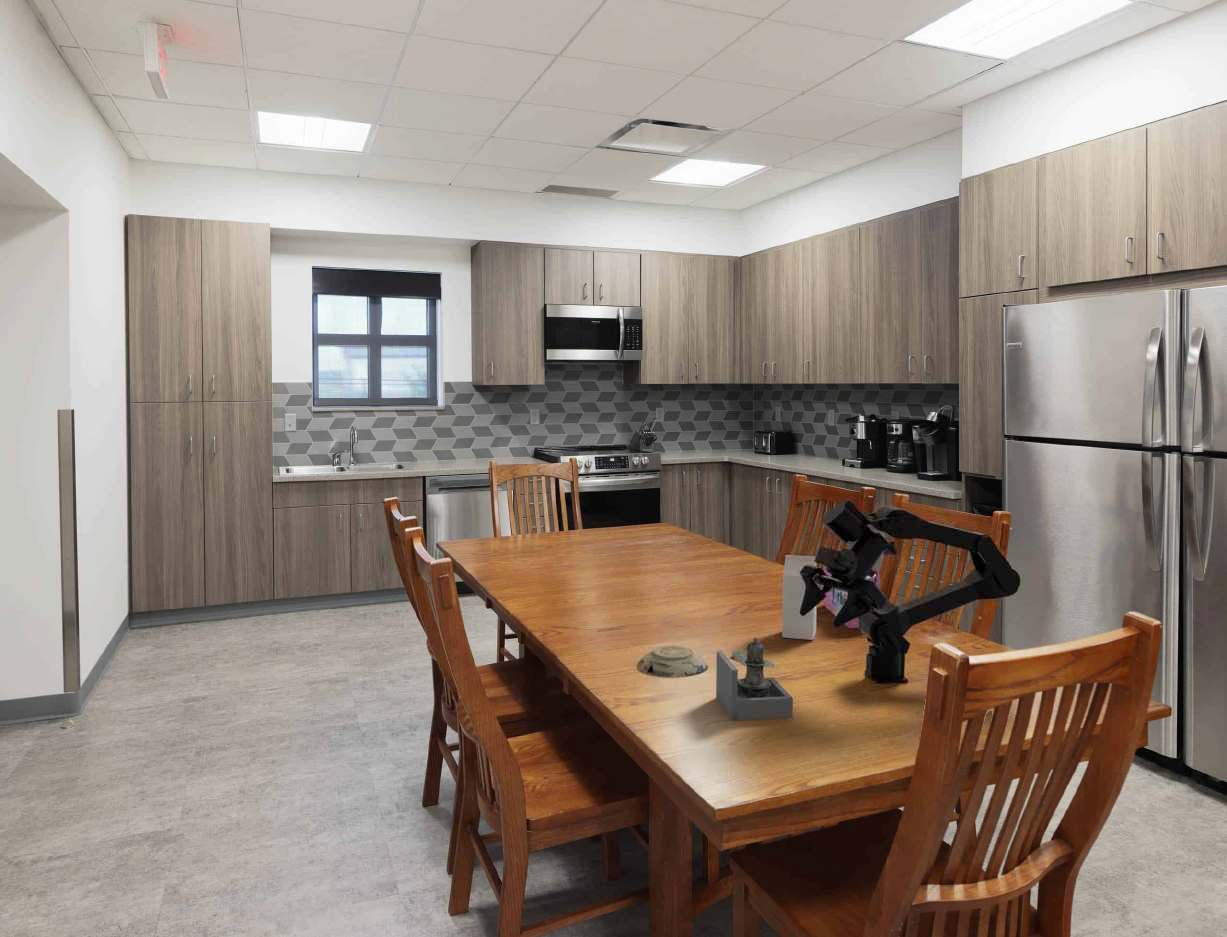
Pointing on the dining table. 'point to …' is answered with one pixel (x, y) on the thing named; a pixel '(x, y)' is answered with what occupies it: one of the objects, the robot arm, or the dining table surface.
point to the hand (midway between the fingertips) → (817, 620)
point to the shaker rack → (749, 708)
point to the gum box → (844, 598)
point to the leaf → (742, 657)
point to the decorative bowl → (673, 662)
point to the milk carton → (796, 600)
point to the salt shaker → (754, 673)
